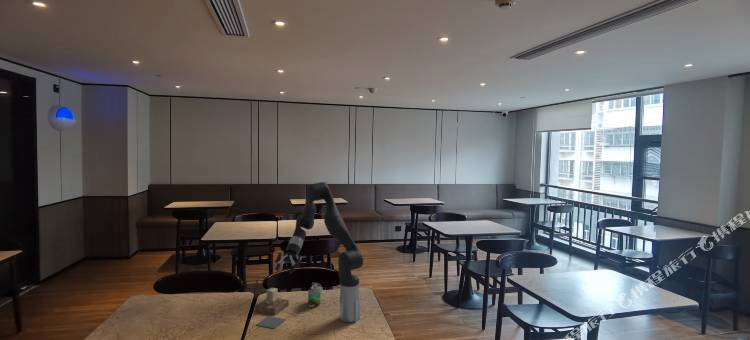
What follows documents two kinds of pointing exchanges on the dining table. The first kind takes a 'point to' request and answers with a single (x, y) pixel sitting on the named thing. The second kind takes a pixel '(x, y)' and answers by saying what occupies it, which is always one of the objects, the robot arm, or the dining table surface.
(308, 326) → the dining table surface
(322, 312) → the dining table surface
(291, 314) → the dining table surface
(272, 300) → the beech peg
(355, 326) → the dining table surface
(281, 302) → the walnut eye block
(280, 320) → the blue-grey square plate
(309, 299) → the food container
